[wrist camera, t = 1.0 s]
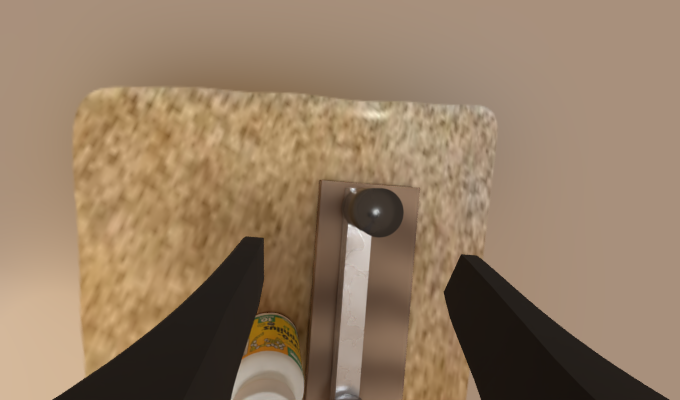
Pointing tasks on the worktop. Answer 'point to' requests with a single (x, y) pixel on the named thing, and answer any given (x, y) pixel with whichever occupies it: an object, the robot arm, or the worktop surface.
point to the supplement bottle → (270, 362)
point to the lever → (357, 280)
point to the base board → (381, 305)
